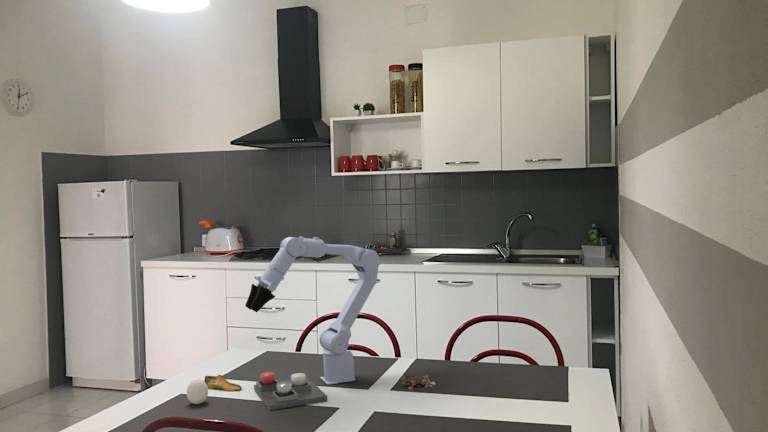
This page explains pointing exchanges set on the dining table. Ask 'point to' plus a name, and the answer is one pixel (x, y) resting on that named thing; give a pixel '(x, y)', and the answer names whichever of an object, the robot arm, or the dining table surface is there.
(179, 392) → the dining table surface
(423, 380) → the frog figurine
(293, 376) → the ivory button
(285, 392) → the steel button
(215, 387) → the shoe last
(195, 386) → the egg
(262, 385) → the slate panel
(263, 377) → the red button
